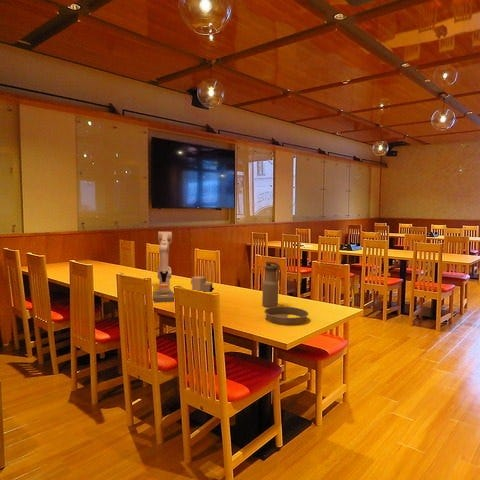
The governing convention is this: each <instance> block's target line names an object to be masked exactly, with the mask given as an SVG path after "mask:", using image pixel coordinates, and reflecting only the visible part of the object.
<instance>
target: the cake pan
mask: <svg viewBox="0 0 480 480" xmlns="http://www.w3.org/2000/svg"><path fill="white" fill-rule="evenodd" d="M263 312H264V314H265V316H266V319H267V321H268V322H271V323H273V324H277V325H278V324H279V325H287V326H289V325H292V326H293V325H300V324H302V323H305V322H306V320H307V319H306V318H307V317H308V316H309V312H308V311H306V310H305V309H302V308H298V307H296V306H295V307H293V306H277V307H271V308H269V307H266V308H265V309H264V311H263ZM289 316H297V317H289Z"/></svg>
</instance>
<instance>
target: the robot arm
mask: <svg viewBox="0 0 480 480" xmlns="http://www.w3.org/2000/svg"><path fill="white" fill-rule="evenodd" d="M172 232H173V231H158V233H157V234H158V235H157V239H158V244H159V247H158V252H159V254H158V255H159V267H158V268H157V279H158V280H159V282H158V283H159V284H158V285H159V287H158V290H160V292H161V284H168V289H171V288H170V286H171V285H170V284H171V283H170V282H171V281H170V279H172V268H171V267H170V266H169V253H170V245H171V244H172V241H173V234H172Z"/></svg>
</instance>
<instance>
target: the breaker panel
mask: <svg viewBox="0 0 480 480" xmlns="http://www.w3.org/2000/svg"><path fill="white" fill-rule="evenodd" d="M152 292H153V301H154V303H175V302H174V293H173V291H172V289H171V288H170V289H168V293H164V294H161V292H160V290H159V289H157V290H156V291H152Z"/></svg>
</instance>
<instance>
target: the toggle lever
mask: <svg viewBox="0 0 480 480" xmlns="http://www.w3.org/2000/svg"><path fill="white" fill-rule="evenodd" d="M164 293H168V284H161V294H164Z"/></svg>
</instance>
